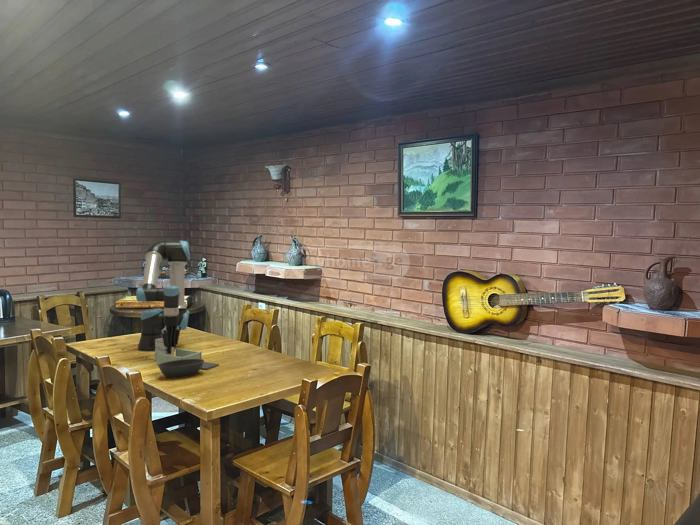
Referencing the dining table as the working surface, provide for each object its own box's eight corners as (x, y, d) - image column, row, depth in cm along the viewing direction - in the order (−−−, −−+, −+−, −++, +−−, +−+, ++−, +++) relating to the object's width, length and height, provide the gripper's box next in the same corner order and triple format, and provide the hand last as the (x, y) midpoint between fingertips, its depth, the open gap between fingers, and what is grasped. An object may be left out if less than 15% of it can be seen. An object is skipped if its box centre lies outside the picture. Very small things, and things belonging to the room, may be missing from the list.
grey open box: (156, 365, 259) (156, 353, 259) (176, 359, 273) (176, 348, 272) (181, 369, 253) (182, 357, 252) (201, 363, 266) (201, 352, 266)
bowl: (154, 375, 241) (154, 363, 241) (199, 369, 254) (199, 357, 254) (162, 382, 231) (162, 368, 231) (208, 375, 245) (208, 362, 244)
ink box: (172, 361, 268) (173, 339, 268) (165, 362, 264) (166, 340, 264) (161, 359, 272) (162, 337, 272) (154, 360, 268) (154, 338, 267)
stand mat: (190, 367, 257) (190, 365, 257) (203, 363, 266) (203, 361, 266) (206, 370, 253) (206, 368, 253) (218, 365, 262) (218, 364, 262)
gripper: (167, 317, 256) (167, 362, 257) (185, 314, 268) (185, 357, 269) (156, 316, 259) (156, 360, 260) (174, 313, 271) (174, 355, 272)
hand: (170, 359), depth 265 cm, fingers closed
